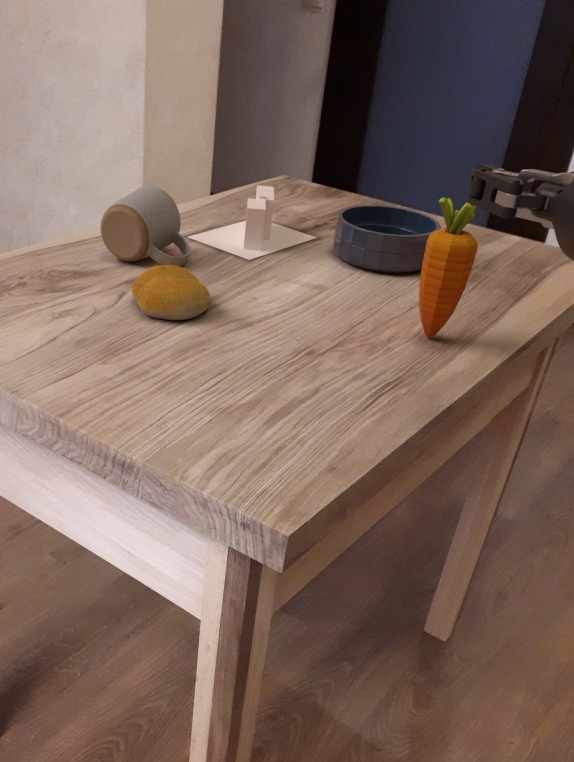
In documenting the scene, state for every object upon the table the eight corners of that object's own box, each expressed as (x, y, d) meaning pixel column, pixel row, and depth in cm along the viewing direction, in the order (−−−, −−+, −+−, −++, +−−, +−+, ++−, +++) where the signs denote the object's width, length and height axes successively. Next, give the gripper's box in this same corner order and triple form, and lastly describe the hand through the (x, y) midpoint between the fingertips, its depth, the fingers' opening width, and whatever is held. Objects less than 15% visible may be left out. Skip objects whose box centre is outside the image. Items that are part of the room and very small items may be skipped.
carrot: (401, 341, 84) (434, 195, 75) (409, 324, 88) (442, 183, 79) (449, 351, 83) (488, 204, 74) (455, 334, 87) (493, 191, 78)
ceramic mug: (95, 257, 99) (95, 193, 94) (129, 240, 105) (130, 179, 100) (170, 277, 96) (174, 212, 91) (201, 258, 102) (205, 196, 97)
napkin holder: (255, 217, 117) (259, 176, 114) (318, 237, 111) (324, 195, 108) (185, 237, 108) (187, 193, 104) (250, 260, 102) (254, 214, 98)
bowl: (386, 237, 113) (394, 201, 110) (453, 268, 104) (462, 230, 101) (312, 247, 107) (317, 209, 104) (375, 281, 98) (383, 241, 95)
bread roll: (148, 326, 83) (149, 289, 81) (125, 294, 90) (125, 259, 88) (221, 319, 86) (224, 283, 84) (193, 288, 93) (195, 254, 90)
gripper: (757, 174, 53) (614, 139, 67) (564, 158, 50) (456, 125, 64) (709, 286, 57) (583, 231, 70) (528, 276, 54) (433, 221, 68)
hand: (523, 180), depth 67 cm, fingers open, 8 cm apart
